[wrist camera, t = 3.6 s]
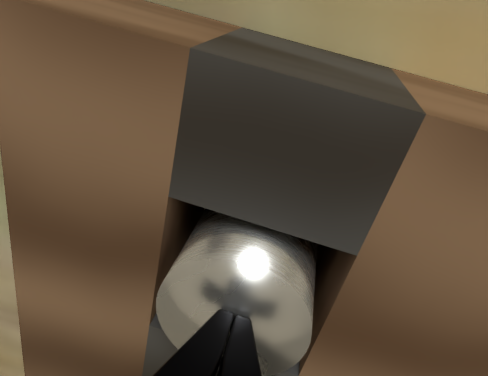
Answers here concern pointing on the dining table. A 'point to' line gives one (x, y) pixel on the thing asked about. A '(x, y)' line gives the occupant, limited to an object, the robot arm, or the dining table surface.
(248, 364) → the robot arm
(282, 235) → the peg
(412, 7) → the dining table surface
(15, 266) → the walnut block
